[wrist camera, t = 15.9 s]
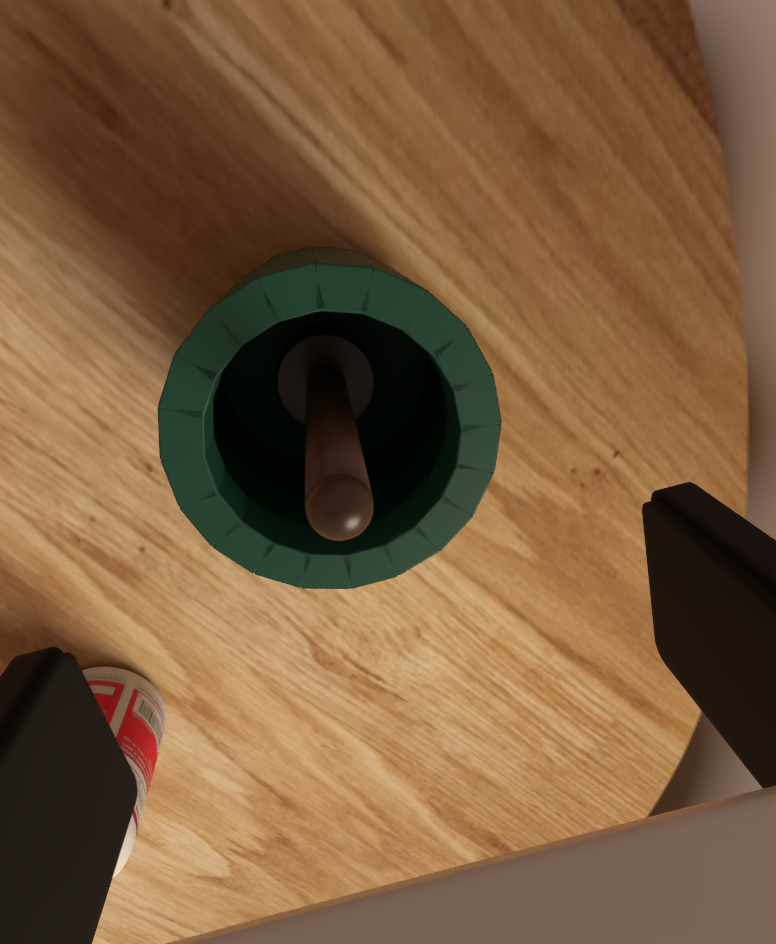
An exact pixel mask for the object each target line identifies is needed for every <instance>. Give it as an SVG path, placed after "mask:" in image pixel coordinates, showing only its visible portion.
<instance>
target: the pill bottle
mask: <svg viewBox="0 0 776 944" xmlns="http://www.w3.org/2000/svg"><path fill="white" fill-rule="evenodd" d="M82 672H83V674H84V676H85V678H86V680H87V682H88V684H89V686H90V688H91V690H92V692H93V694H94V696H95V698H96V700H97V702H98V704H99V706H100V708H101V710H102V712H103V714H104V715H105V717H106V719H107V721H108V723H109V725H110V727H111V729H112V731H113V733H114V735H115V737H116V739H117V741H118V743H119V745H120V747H121V749H122V751H123V753H124V755H125V757H126V759H127V761H128V763H129V765H130V767H131V769H132V771H133V773H134V775H135V778H136V782H137V790H138V792H137V800H136V804H135V807H134V810H133V813H132V817H131V820H130V823H129V826H128V829H127V833H126V836H125V839H124V842H123V845H122V849H121V852H120V855H119V858H118V861H117V865H116V868H115V871H114V874H113V877H112V879H113V878H114V877H115V876H116V875H117V874H118V873H119V871H120V870H121V869H122V868H123V866H124V865H125V863H126V862H127V860H128V858H129V856H130V854H131V851H132V848H133V845H134V842H135V839H136V835H137V831H138V827H139V823H140V820H141V816H142V812H143V809H144V805H145V801H146V798H147V794H148V790H149V786H150V783H151V779H152V776H153V772H154V768H155V764H156V761H157V757H158V753H159V749H160V745H161V742H162V738H163V734H164V730H165V725H166V716H167V714H166V707H165V703H164V701H163V699H162V697H161V695H160V693H159V692H158V690H157V689H156V688H155V687H154V686H153V685H152V684H151V683H150V682H149V681H147V680H146V679H145V678H143V677H141V676H139V675H137V674H136V673H133V672H131V671H128V670H125V669H121V668H115V667H92V668H88V669H84V670H82Z"/></svg>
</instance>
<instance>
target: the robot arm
mask: <svg viewBox="0 0 776 944" xmlns="http://www.w3.org/2000/svg"><path fill="white" fill-rule="evenodd" d="M642 515H643V525H644V535H645V545H646V555H647V565H648V575H649V585H650V595H651V605H652V615H653V625H654V635H655V642H656V646H657V649H658V652H659V654H660V656H661V658H662V660H663V661H664V663H665V664H666V666H667V667H668V668H669V669H670V671H671V672H672V673H673V674H674V676H675V677H676V678H677V680H678V681H679V682H680V683H681V685H682V686H683V687H684V688H685V690H686V691H687V692H688V694H689V695H690V696H691V697H692V699H693V700H694V701H695V702H696V704H697V705H698V706H699V708H700V709H701V710H702V711H703V713H704V714H705V715H706V717H707V718H708V719H709V720H710V722H711V723H712V724H713V725H714V727H715V728H716V729H717V731H718V732H719V733H720V734H721V736H722V737H723V738H724V739H725V741H726V742H727V743H728V745H729V746H730V747H731V748H732V750H733V751H734V752H735V753H736V755H737V756H738V757H739V759H740V760H741V761H742V762H743V764H744V765H745V766H746V767H747V769H748V770H749V771H750V773H751V774H752V775H753V776H754V778H755V779H756V780H757V781H758V783H759V784H760V785H761V787H762V788H763V789H760V790H756V791H753V792H748V793H744V794H741V795H737V796H733V797H729V798H725V799H721V800H716V801H712V802H708V803H703V804H699V805H695V806H691V807H687V808H683V809H679V810H675V811H671V812H667V813H663V814H659V815H656V816H652V817H648V818H644V819H640V820H636V821H632V822H628V823H624V824H620V825H616V826H613V827H609V828H605V829H601V830H597V831H593V832H589V833H585V834H581V835H578V836H574V837H570V838H566V839H562V840H558V841H554V842H550V843H546V844H542V845H539V846H535V847H531V848H527V849H523V850H519V851H515V852H511V853H507V854H504V855H500V856H496V857H492V858H488V859H484V860H480V861H476V862H473V863H469V864H465V865H461V866H457V867H454V868H450V869H446V870H442V871H438V872H435V873H431V874H427V875H423V876H419V877H415V878H412V879H408V880H404V881H400V882H396V883H393V884H389V885H385V886H381V887H377V888H373V889H370V890H366V891H362V892H358V893H355V894H351V895H347V896H343V897H339V898H336V899H332V900H328V901H324V902H320V903H317V904H313V905H309V906H305V907H302V908H298V909H294V910H290V911H286V912H283V913H279V914H275V915H271V916H267V917H264V918H260V919H256V920H252V921H249V922H245V923H241V924H237V925H234V926H230V927H226V928H223V929H219V930H215V931H211V932H208V933H204V934H200V935H197V936H193V937H189V938H185V939H182V940H178V941H174V942H171V943H167V944H776V541H775V540H774V539H773V538H771V537H769V536H768V535H767V534H766V533H764V532H763V531H761V530H760V529H758V528H757V527H756V526H754V525H753V524H751V523H750V522H748V521H747V520H746V519H744V518H743V517H741V516H740V515H738V514H737V513H735V512H734V511H733V510H731V509H730V508H728V507H727V506H725V505H724V504H723V503H721V502H720V501H718V500H717V499H715V498H714V497H713V496H711V495H710V494H708V493H707V492H705V491H704V490H703V489H701V488H700V487H698V486H697V485H695V484H694V483H691V482H687V483H683V484H679V485H676V486H672V487H668V488H664V489H660V490H656V491H654V492H653V493H652V497H651V501H650V502H646V503H644V504H643V508H642ZM137 792H138V790H137V782H136V778H135V775H134V773H133V771H132V769H131V767H130V765H129V763H128V761H127V759H126V757H125V755H124V753H123V751H122V749H121V747H120V745H119V743H118V741H117V739H116V737H115V735H114V733H113V731H112V729H111V727H110V725H109V723H108V721H107V719H106V717H105V715H104V714H103V712H102V710H101V708H100V706H99V704H98V702H97V700H96V698H95V696H94V694H93V692H92V690H91V688H90V686H89V684H88V682H87V680H86V678H85V676H84V674H83V672H82V670H81V668H80V666H79V664H78V662H77V660H76V659H75V657H74V656H73V655H72V654H71V653H63V652H62V651H61V650H60V649H59V648H56V647H50V648H46V649H42V650H39V651H35V652H31V653H27V654H23V655H20V656H16V657H15V658H14V659H13V660H12V661H11V662H10V664H9V665H8V667H7V668H6V670H5V671H4V672H3V674H2V675H1V677H0V944H92V941H93V938H94V935H95V932H96V928H97V925H98V922H99V919H100V916H101V912H102V909H103V906H104V903H105V900H106V897H107V893H108V890H109V887H110V884H111V881H112V877H113V874H114V871H115V868H116V865H117V861H118V858H119V855H120V852H121V849H122V845H123V842H124V839H125V836H126V833H127V829H128V826H129V823H130V820H131V817H132V813H133V810H134V807H135V804H136V800H137Z"/></svg>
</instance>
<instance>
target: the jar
mask: <svg viewBox="0 0 776 944" xmlns="http://www.w3.org/2000/svg"><path fill="white" fill-rule="evenodd" d="M317 323H331V324H335V325H338V326H341V327H343V328H345V329H347V330H349V331H350V332H352V333H353V334H354V335H355V336H356V337H357V338H358V339H359V340H360V342H361V343H362V345H363V346H364V348H365V351H366V353H367V355H368V357H369V360H370V362H371V364H372V367H373V370H374V375H375V390H374V394H373V398H372V400H371V403H370V405H369V406H368V408H367V409H366V411H365V412H364V413H363V414H362V416H361V417H360V418H358V419H357V420H356V421H355V423H356V427H357V432H358V436H359V440H360V445H361V449H362V453H363V457H364V462H365V466H366V470H367V475H368V479H369V483H370V487H371V492H372V496H373V501H374V511H373V516H372V519H371V521H370V523H369V525H368V526H367V527H366V529H365V530H364V531H363V532H362V533H361V534H359V535H358V536H356V537H354V538H351V539H349V540H343V541H335V540H330V539H327V538H325V537H323V536H321V535H319V534H318V533H317V532H316V531H315V530H314V529H313V528H312V526H311V525H310V524H309V521H308V519H307V516H306V512H305V447H306V426H304V425H302V424H300V423H299V422H297V421H296V420H294V419H293V418H292V417H291V416H290V415H289V414H288V413H287V412H286V410H285V409H284V407H283V406H282V404H281V402H280V399H279V397H278V393H277V388H276V375H277V370H278V365H279V360H280V355H281V352H282V350H283V348H284V345H285V344H286V342H287V341H288V340H289V338H290V337H291V336H292V335H293V334H295V333H296V332H297V331H299V330H300V329H302V328H304V327H306V326H309V325H312V324H317ZM158 405H159V407H158V425H159V449H160V459H161V463H162V465H163V468H164V471H165V473H166V476H167V478H168V481H169V483H170V486H171V488H172V491H173V493H174V496H175V498H176V501H177V503H178V506H179V507H180V509H181V511H182V512H183V513H184V514H185V515H186V517H187V518H188V519H189V520H190V521H191V523H192V524H193V525H194V526H195V527H196V529H197V530H198V531H199V532H200V533H201V535H202V536H203V537H204V538H205V539H206V541H207V542H208V543H209V544H210V545H211V546H213V548H214V549H216V550H218V551H219V552H221V553H222V554H224V555H225V556H227V557H228V558H230V559H231V560H233V561H235V562H236V563H238V564H239V565H241V566H242V567H244V568H245V569H247V570H248V571H250V572H252V573H255V574H256V575H259V576H262V577H265V578H269V579H272V580H276V581H279V582H282V583H286V584H289V585H292V586H296V587H299V588H300V587H302V588H309V589H350V588H351V589H353V588H357V587H360V586H364V585H368V584H372V583H375V582H379V581H383V580H387V579H390V578H394V577H397V576H398V575H401V574H402V573H404V572H406V571H407V570H409V569H411V568H412V567H414V566H416V565H417V564H419V563H421V562H422V561H424V560H426V559H427V558H429V557H431V556H433V555H434V554H436V553H437V552H438V551H441V550H442V549H443V548H444V547H445V546H446V545H447V544H448V543H449V542H450V541H451V539H452V538H453V537H454V536H455V535H456V534H457V533H458V532H459V531H460V530H461V529H462V528H463V527H464V526H465V525H466V523H467V522H468V521H469V520H470V519H471V518H472V517H473V516H472V515H473V514H474V513H475V511H476V509H477V507H478V505H479V503H480V501H481V499H482V497H483V494H484V492H485V490H486V488H487V486H488V484H489V482H490V480H491V478H492V476H493V473H494V470H495V465H496V459H497V452H498V445H499V438H500V432H501V423H502V420H501V414H500V409H499V403H498V397H497V392H496V386H495V380H494V375H493V373H492V370H491V368H490V367H489V365H488V363H487V361H486V359H485V358H484V356H483V354H482V352H481V350H480V348H479V347H478V345H477V343H476V341H475V339H474V338H473V336H472V334H471V332H470V330H469V329H468V328H467V326H466V325H465V324H464V323H463V322H462V321H461V320H460V319H459V318H458V317H456V316H455V315H454V314H453V313H452V312H451V311H450V310H449V309H448V308H446V307H445V306H444V305H443V304H442V303H441V302H440V301H439V300H438V299H437V298H435V297H434V296H433V295H432V294H431V293H430V292H429V291H428V290H426V289H424V288H423V287H421V286H419V285H418V284H416V283H414V282H413V281H411V280H409V279H408V278H406V277H405V276H403V275H401V274H400V273H398V272H396V271H395V270H393V269H391V268H390V267H388V266H386V265H385V264H383V263H380V262H378V261H376V260H373V259H371V258H369V257H367V256H364V255H362V254H359V253H357V252H355V251H351V250H347V249H338V248H327V247H313V248H312V247H309V248H305V249H301V250H295V251H292V252H289V253H285V254H282V255H278V256H276V257H273V258H271V259H270V260H268V261H267V262H265V263H264V264H262V265H261V266H259V267H258V268H256V269H255V270H253V271H252V272H250V273H249V274H247V275H246V276H244V277H243V278H242V279H241V280H240V281H239V282H238V283H237V284H235V285H234V286H233V287H232V288H231V289H230V290H229V291H228V292H227V293H226V294H225V295H224V296H223V297H221V298H220V299H219V300H218V301H217V302H216V303H215V304H214V305H213V306H212V307H211V308H210V309H208V310H207V311H206V313H205V314H204V315H203V317H202V318H201V319H200V321H199V322H198V323H197V325H196V326H195V327H194V329H193V330H192V331H191V333H190V334H189V335H188V337H187V338H186V339H185V341H184V342H183V343H182V345H181V346H180V347H179V349H178V350H177V351H176V352H175V355H174V356H173V359H172V363H171V366H170V369H169V372H168V375H167V379H166V382H165V385H164V388H163V392H162V395H161V398H160V401H159V404H158Z"/></svg>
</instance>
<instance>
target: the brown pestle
mask: <svg viewBox="0 0 776 944" xmlns="http://www.w3.org/2000/svg"><path fill="white" fill-rule="evenodd" d="M276 388H277V393H278V397H279V399H280V402H281V404H282V406H283V407H284V409H285V410H286V412H287V413H288V414H289V415H290V416H291V417H292V418H293V419H294V420H296V421H297V422H299V423H300V424H302V425H304V426H306V447H305V512H306V516H307V519H308V521H309V524H310V525H311V526H312V528H313V529H314V530H315V531H316V532H317V533H318V534H319V535H321V536H323V537H325V538H327V539H330V540H335V541H343V540H349V539H351V538H354V537H356V536H358V535H359V534H361V533H362V532H363V531H364V530H365V529H366V527H367V526H368V525H369V523H370V521H371V519H372V516H373V511H374V501H373V496H372V492H371V487H370V483H369V479H368V475H367V470H366V466H365V462H364V457H363V453H362V449H361V445H360V440H359V436H358V432H357V427H356V423H355V421H356V420H357V419H358V418H360V417H361V416H362V414H363V413H364V412H365V411H366V409H367V408H368V406H369V405H370V403H371V400H372V398H373V394H374V390H375V375H374V370H373V367H372V364H371V362H370V360H369V357H368V355H367V353H366V351H365V348H364V346H363V345H362V343H361V342H360V340H359V339H358V338H357V337H356V336H355V335H354V334H353V333H352V332H350V331H349V330H347V329H345V328H343V327H341V326H338V325H335V324H331V323H317V324H312V325H309V326H306V327H304V328H302V329H300V330H299V331H297V332H296V333H295V334H293V335H292V336H291V337H290V338H289V340H288V341H287V342H286V344H285V345H284V348H283V350H282V352H281V355H280V360H279V365H278V370H277V375H276Z"/></svg>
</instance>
